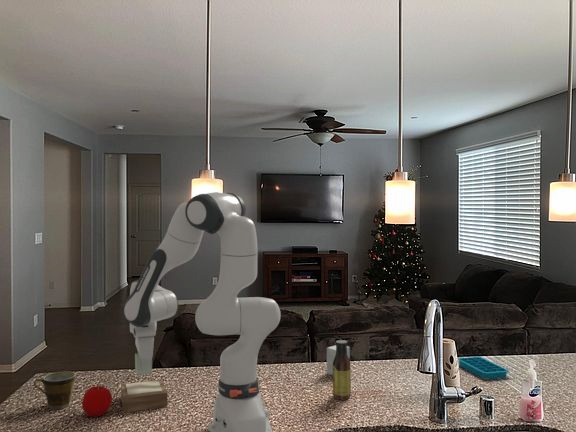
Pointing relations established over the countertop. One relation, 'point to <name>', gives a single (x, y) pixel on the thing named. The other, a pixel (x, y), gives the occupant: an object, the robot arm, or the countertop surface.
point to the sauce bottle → (341, 372)
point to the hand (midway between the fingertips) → (143, 366)
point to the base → (143, 395)
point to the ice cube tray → (483, 367)
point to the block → (139, 366)
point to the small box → (330, 358)
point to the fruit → (96, 401)
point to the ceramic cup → (58, 388)
